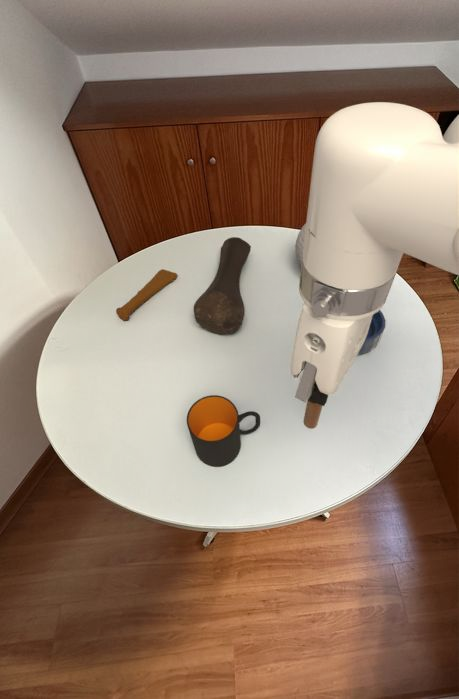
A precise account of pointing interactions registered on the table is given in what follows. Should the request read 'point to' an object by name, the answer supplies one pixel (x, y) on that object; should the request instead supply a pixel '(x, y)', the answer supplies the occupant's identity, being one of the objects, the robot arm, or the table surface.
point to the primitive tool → (146, 293)
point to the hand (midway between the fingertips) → (318, 390)
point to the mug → (217, 429)
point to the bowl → (373, 333)
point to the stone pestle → (224, 291)
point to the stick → (312, 414)
